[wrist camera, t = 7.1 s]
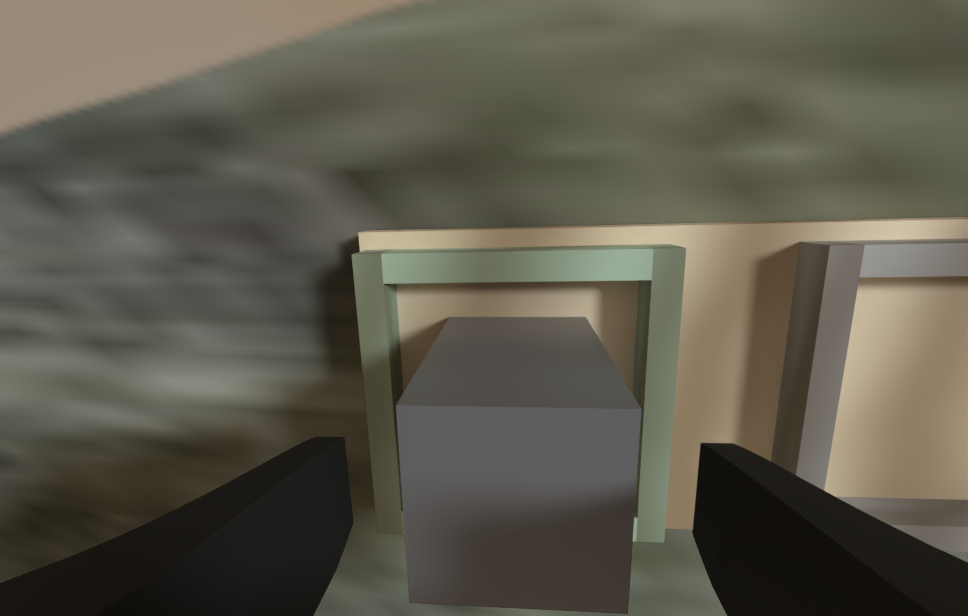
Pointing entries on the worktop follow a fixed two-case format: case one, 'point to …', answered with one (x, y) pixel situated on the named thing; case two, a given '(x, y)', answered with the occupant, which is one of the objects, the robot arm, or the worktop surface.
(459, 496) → the plug
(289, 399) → the worktop surface
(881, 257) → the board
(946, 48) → the worktop surface
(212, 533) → the robot arm
